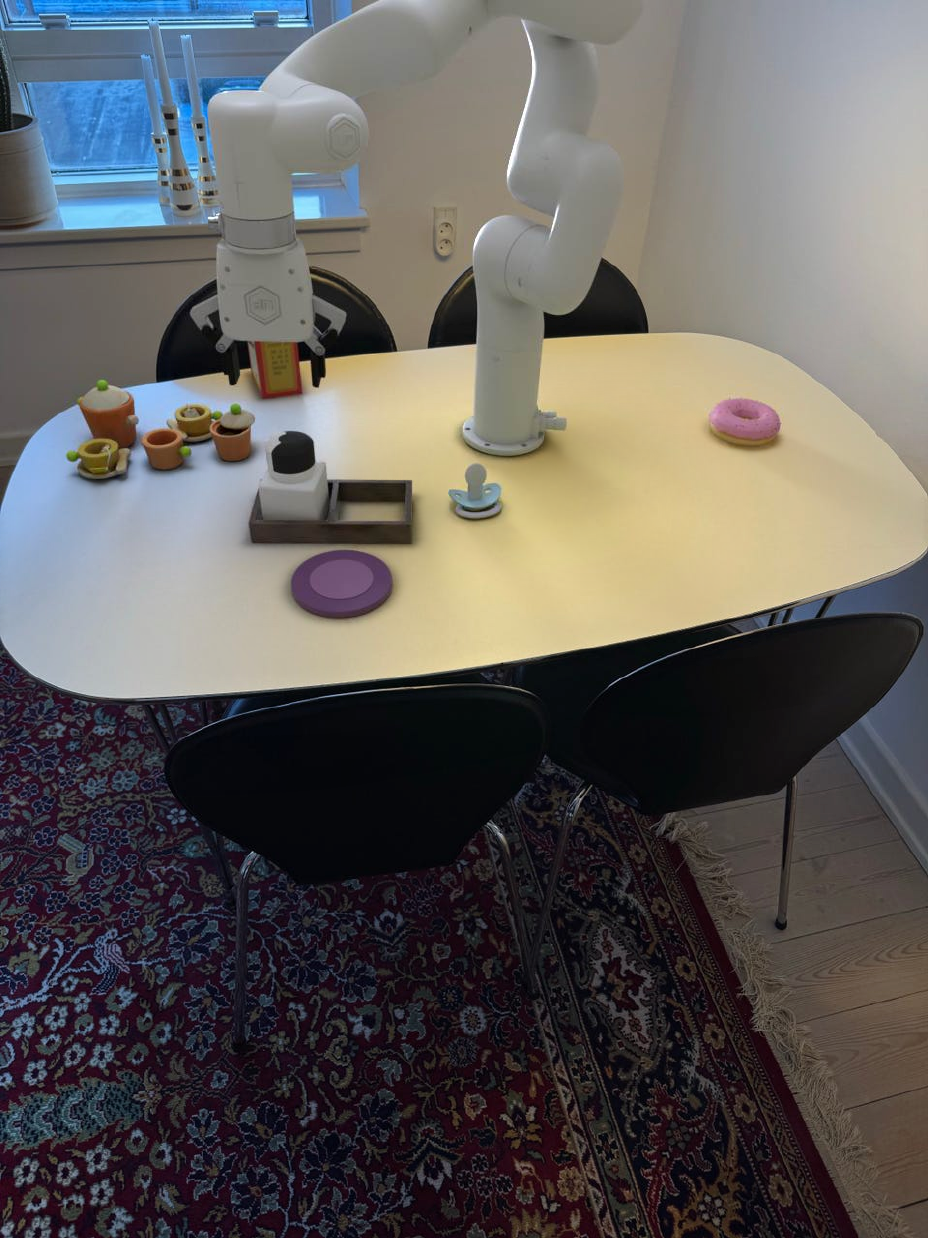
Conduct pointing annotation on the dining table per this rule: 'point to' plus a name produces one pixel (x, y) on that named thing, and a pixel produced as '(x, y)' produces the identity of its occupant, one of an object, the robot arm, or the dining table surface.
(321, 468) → the medicine bottle
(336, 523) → the frame
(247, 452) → the toy tea set
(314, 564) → the lid
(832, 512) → the dining table surface
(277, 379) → the baking soda box
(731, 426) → the doughnut
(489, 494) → the pacifier
